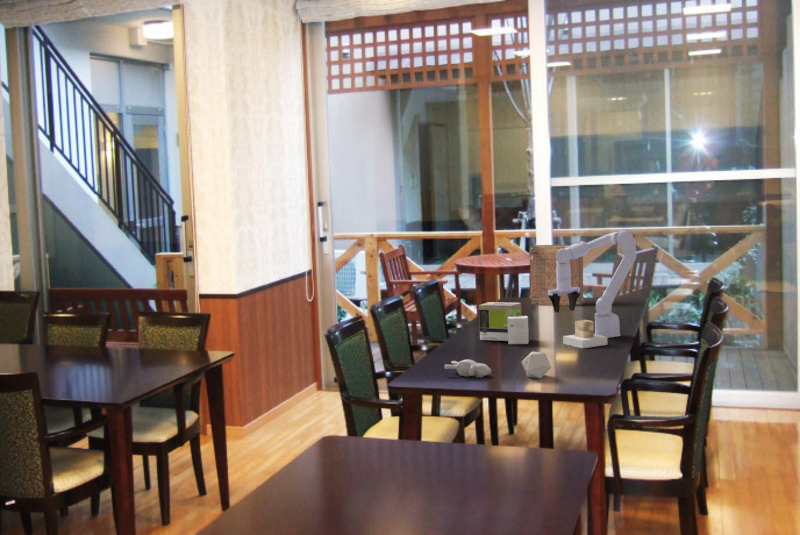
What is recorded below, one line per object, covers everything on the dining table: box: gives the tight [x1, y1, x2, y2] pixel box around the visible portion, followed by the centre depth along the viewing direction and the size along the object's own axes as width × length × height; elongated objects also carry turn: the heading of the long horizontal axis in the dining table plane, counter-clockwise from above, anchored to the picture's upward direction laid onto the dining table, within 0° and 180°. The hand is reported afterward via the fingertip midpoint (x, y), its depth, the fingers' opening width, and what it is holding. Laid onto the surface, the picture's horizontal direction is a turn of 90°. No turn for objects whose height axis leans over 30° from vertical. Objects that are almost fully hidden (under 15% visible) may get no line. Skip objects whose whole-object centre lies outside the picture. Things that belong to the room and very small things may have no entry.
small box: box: [507, 315, 530, 345], centre depth 352 cm, size 8×6×10 cm
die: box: [521, 351, 552, 379], centre depth 293 cm, size 8×9×10 cm
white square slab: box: [562, 333, 608, 349], centre depth 344 cm, size 12×12×3 cm
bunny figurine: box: [443, 359, 492, 378], centre depth 300 cm, size 10×5×15 cm
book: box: [528, 244, 584, 307], centre depth 449 cm, size 25×9×30 cm, turn 68°
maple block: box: [574, 319, 595, 338], centre depth 344 cm, size 5×5×6 cm
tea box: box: [478, 301, 523, 342], centre depth 361 cm, size 15×10×15 cm
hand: (564, 311), depth 361 cm, fingers open, 7 cm apart
